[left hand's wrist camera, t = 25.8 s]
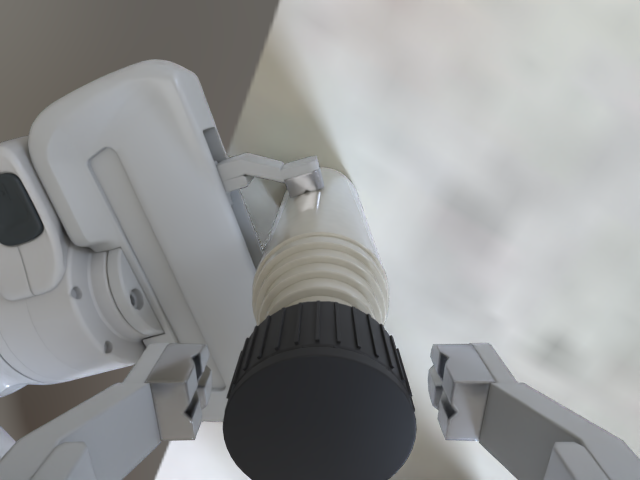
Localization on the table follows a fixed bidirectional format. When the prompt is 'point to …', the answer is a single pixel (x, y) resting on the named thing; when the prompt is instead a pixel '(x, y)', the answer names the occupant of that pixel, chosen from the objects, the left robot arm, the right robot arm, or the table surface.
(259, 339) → the cap
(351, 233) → the bottle
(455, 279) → the table surface
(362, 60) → the table surface
